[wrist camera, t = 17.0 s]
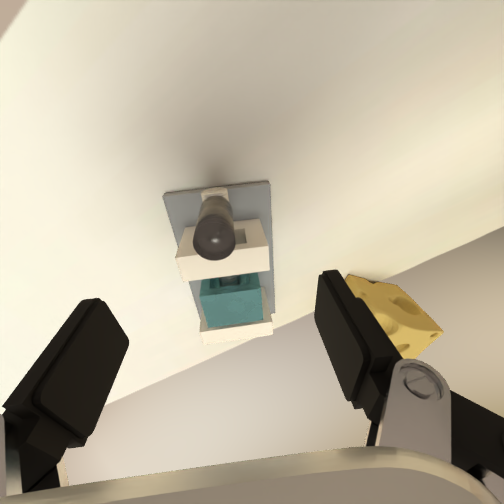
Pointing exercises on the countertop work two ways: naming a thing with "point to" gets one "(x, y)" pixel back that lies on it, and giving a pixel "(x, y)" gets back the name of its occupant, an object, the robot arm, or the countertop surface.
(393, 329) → the cheese
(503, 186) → the countertop surface
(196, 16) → the countertop surface
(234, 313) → the frame
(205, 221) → the shaft
